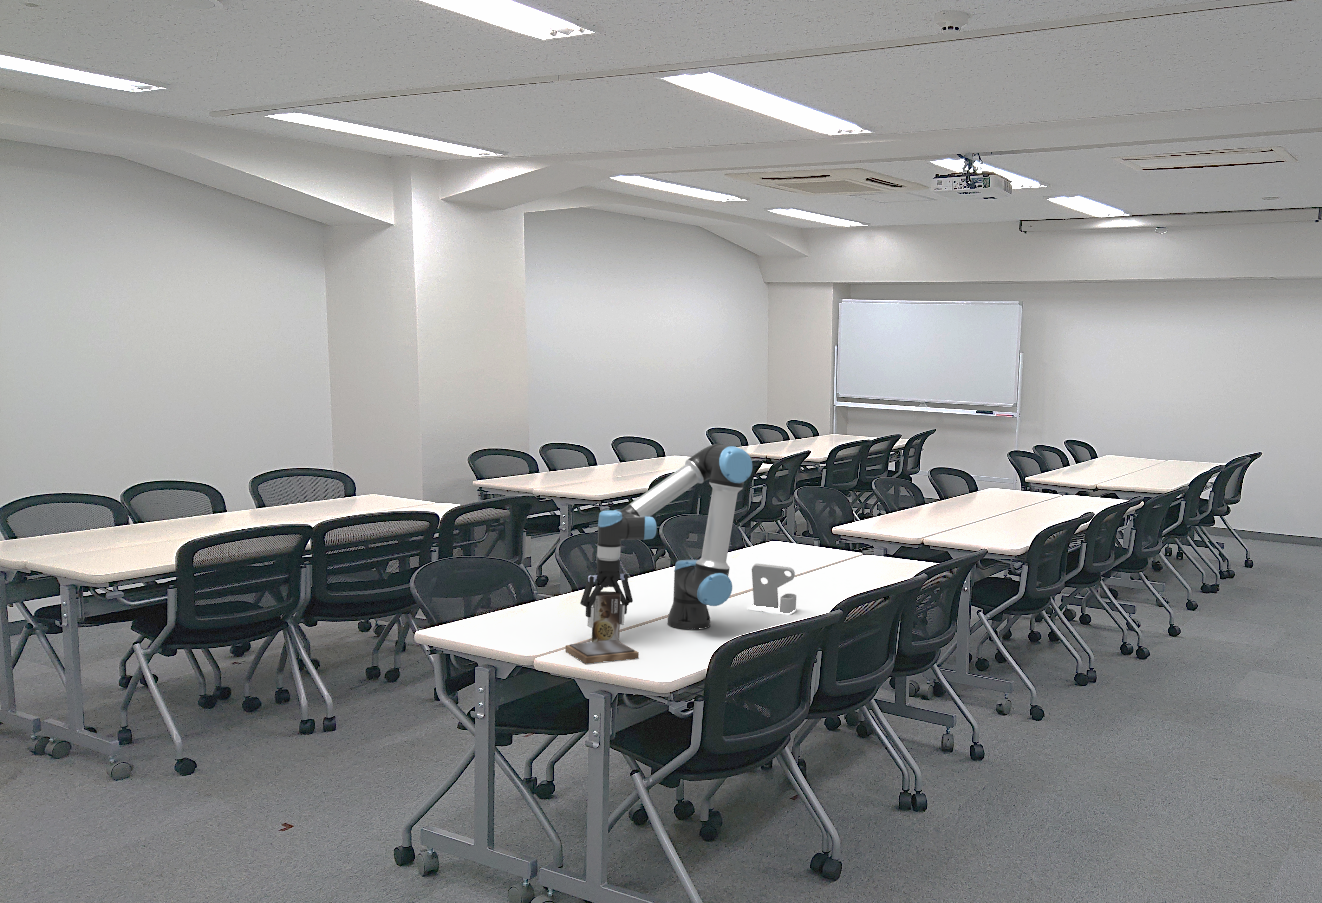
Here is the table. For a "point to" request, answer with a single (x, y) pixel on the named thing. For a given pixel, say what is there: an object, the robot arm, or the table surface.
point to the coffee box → (606, 617)
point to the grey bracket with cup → (772, 587)
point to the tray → (601, 651)
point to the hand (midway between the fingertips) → (605, 625)
